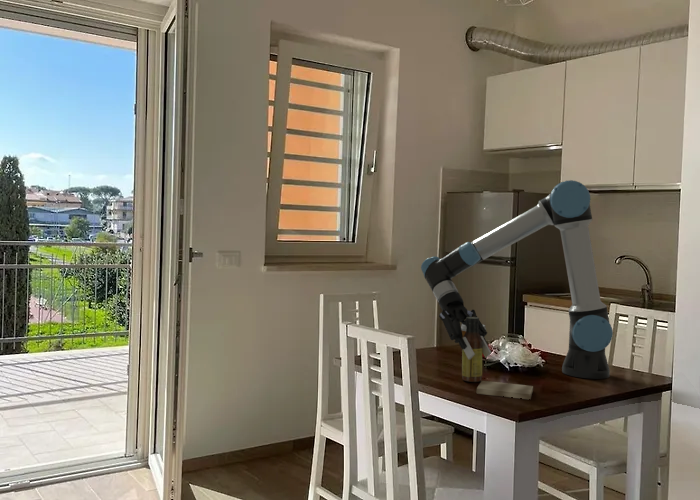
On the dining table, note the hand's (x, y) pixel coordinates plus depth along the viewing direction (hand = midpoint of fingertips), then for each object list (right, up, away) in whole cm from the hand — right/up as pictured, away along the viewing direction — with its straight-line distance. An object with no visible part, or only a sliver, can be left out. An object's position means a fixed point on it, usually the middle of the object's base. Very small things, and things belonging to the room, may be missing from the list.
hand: (480, 356), depth 205 cm
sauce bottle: (-2, -8, +3) cm, 9 cm away
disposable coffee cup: (+6, -7, +44) cm, 45 cm away
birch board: (+5, -9, -10) cm, 15 cm away
